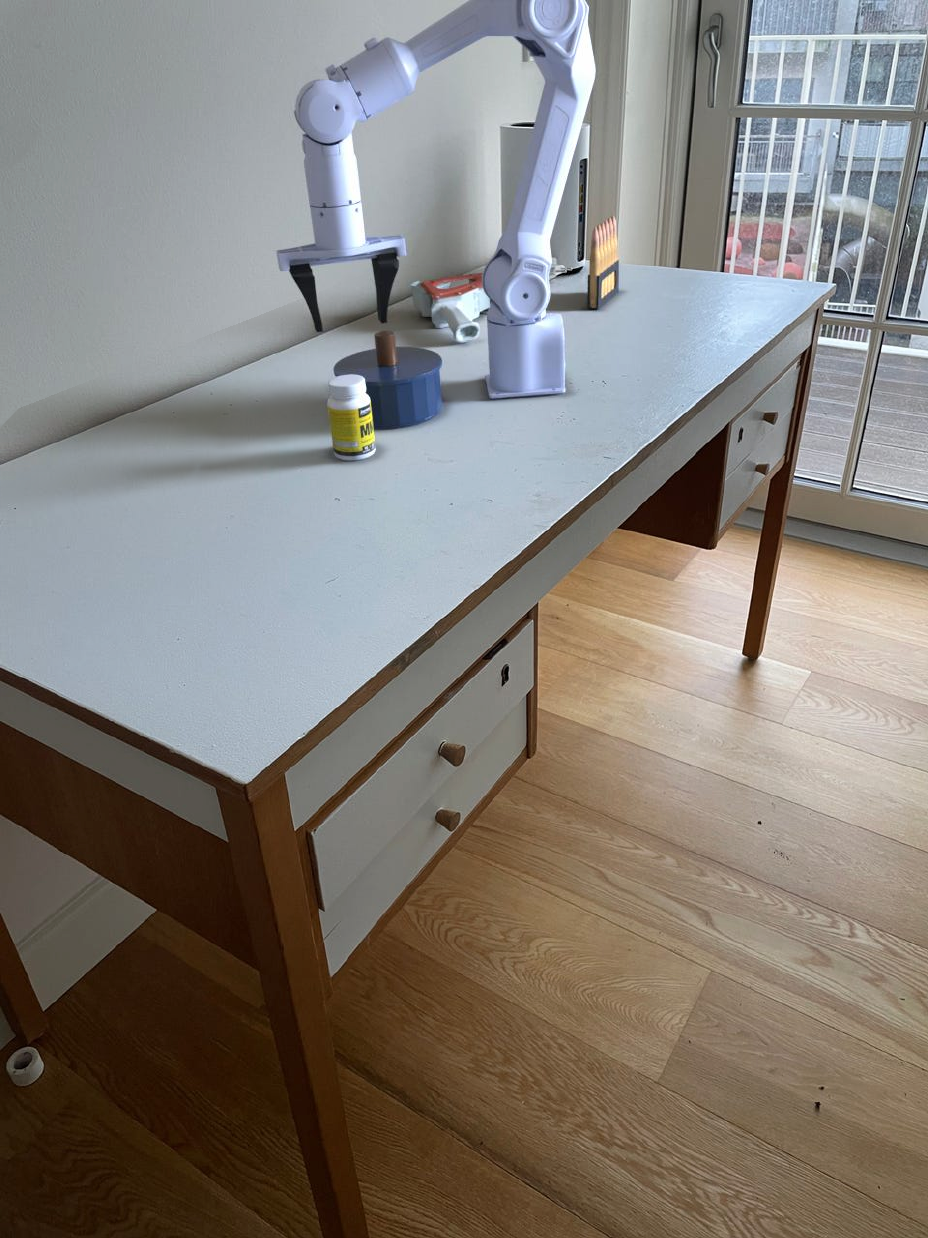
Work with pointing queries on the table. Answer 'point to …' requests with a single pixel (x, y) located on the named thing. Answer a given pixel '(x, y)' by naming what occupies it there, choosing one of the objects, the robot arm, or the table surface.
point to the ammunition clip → (603, 265)
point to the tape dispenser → (453, 304)
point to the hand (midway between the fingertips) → (350, 325)
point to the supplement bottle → (350, 418)
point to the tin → (405, 403)
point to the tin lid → (389, 363)
